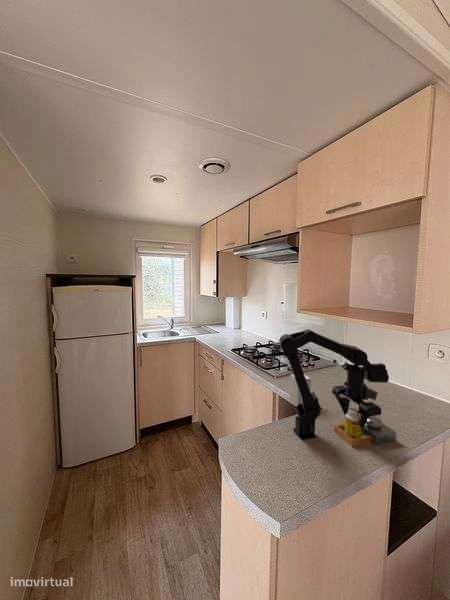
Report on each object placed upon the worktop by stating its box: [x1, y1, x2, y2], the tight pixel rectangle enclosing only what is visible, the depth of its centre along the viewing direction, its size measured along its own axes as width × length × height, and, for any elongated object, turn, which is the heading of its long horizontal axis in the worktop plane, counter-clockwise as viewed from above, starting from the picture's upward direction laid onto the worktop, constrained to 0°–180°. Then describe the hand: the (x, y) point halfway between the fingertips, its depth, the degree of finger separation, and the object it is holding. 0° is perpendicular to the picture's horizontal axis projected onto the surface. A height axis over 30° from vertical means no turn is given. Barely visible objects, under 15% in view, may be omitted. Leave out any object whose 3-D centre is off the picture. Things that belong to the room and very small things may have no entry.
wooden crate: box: [333, 416, 397, 447], centre depth 94 cm, size 18×12×6 cm
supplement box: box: [289, 373, 312, 406], centre depth 121 cm, size 7×7×13 cm
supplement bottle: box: [344, 407, 362, 438], centre depth 93 cm, size 6×6×10 cm
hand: (353, 421), depth 93 cm, fingers open, 8 cm apart
